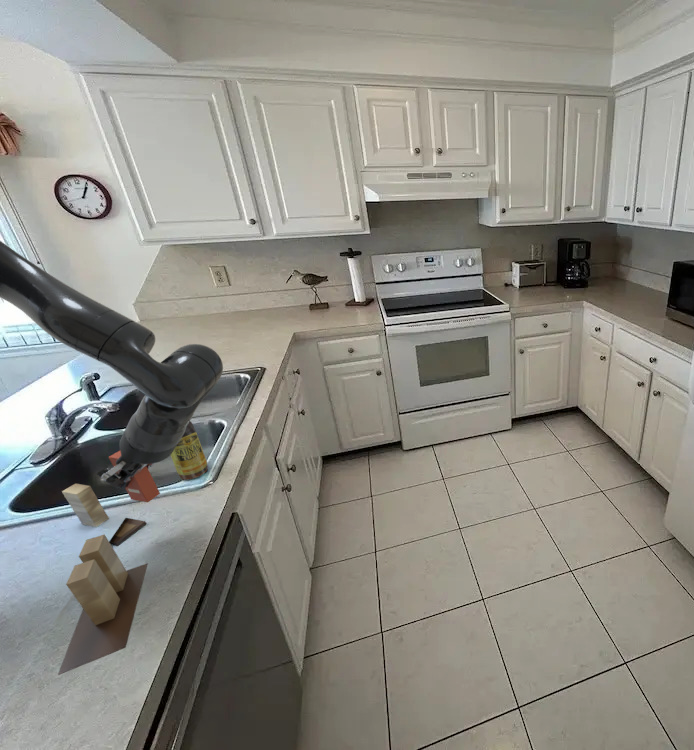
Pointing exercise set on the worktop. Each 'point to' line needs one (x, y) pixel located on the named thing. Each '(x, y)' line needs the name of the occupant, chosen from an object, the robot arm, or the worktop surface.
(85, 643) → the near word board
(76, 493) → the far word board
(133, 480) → the orange brick
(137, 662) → the worktop surface
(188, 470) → the sauce bottle
